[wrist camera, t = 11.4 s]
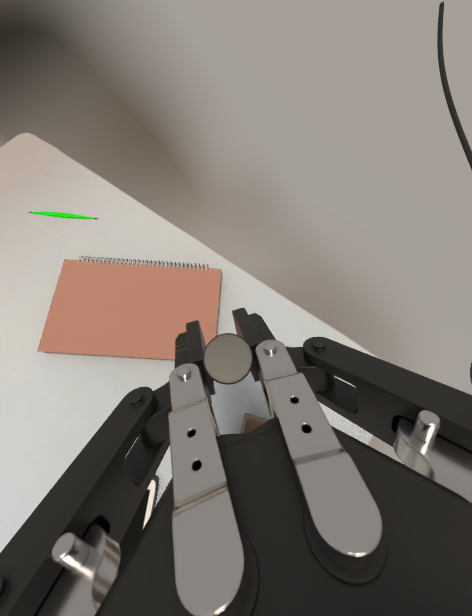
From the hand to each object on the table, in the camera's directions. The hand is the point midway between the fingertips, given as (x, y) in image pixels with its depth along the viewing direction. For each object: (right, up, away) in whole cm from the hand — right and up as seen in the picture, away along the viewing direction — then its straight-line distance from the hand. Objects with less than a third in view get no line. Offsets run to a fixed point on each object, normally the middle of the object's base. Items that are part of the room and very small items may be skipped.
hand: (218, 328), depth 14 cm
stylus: (0, -5, +9) cm, 10 cm away
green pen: (-32, +19, +32) cm, 49 cm away
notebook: (-16, +1, +27) cm, 31 cm away
